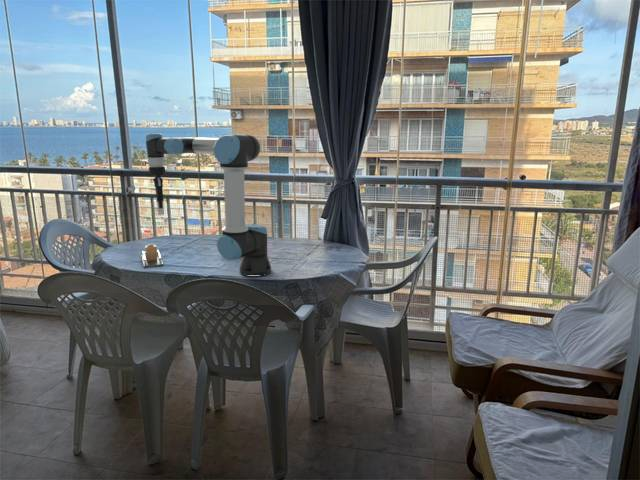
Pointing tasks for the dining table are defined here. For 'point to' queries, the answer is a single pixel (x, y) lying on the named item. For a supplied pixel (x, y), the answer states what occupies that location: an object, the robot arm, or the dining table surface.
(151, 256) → the module
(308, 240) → the dining table surface
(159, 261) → the white tray
